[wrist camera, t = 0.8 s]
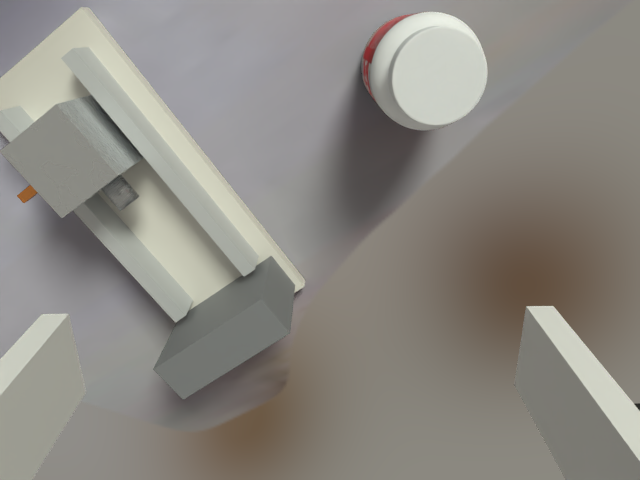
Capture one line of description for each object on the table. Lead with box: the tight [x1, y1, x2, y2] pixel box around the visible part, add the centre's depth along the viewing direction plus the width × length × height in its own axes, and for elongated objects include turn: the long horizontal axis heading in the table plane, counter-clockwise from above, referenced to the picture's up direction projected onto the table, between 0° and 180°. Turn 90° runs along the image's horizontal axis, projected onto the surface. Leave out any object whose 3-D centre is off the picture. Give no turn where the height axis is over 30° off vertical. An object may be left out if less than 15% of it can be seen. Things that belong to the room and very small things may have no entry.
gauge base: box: [0, 7, 305, 400], centre depth 36 cm, size 24×10×8 cm, turn 35°
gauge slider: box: [0, 95, 144, 218], centre depth 34 cm, size 7×7×6 cm
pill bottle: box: [361, 12, 487, 131], centre depth 31 cm, size 6×6×11 cm
